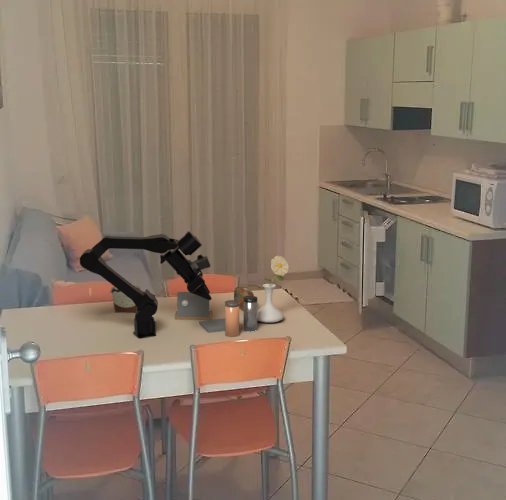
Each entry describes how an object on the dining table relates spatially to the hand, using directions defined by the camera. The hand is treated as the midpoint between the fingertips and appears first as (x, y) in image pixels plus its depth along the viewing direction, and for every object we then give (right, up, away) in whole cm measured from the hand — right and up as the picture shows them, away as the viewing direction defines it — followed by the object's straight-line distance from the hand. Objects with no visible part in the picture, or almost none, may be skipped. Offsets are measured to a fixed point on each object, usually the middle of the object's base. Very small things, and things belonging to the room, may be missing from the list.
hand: (209, 296), depth 244 cm
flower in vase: (+22, -11, +17) cm, 30 cm away
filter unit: (-8, -9, +22) cm, 25 cm away
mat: (+2, -12, +10) cm, 15 cm away
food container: (-34, -8, +28) cm, 45 cm away
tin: (+12, -7, +32) cm, 35 cm away
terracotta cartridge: (+8, -14, +1) cm, 16 cm away
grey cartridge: (+14, -13, +7) cm, 20 cm away
